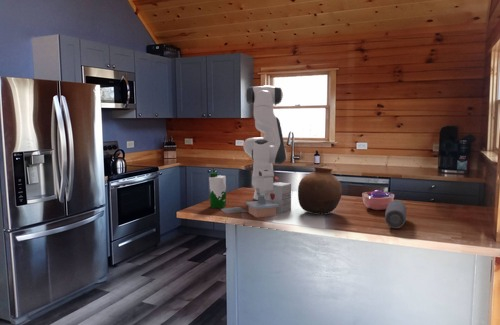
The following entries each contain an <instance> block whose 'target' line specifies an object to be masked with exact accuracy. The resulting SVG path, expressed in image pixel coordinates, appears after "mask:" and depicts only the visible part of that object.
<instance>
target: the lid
mask: <svg viewBox="0 0 500 325" xmlns="http://www.w3.org/2000/svg"><path fill="white" fill-rule="evenodd" d="M263 196H264V195H259V196H258V200H253V201H252V200H251V201H246V202H245V203H246V204H245V205H247V206H248V207H249V206H250V207H252V208H254V209H263V208H273V207H279V205H278V204H276V203H274V202H272V201H270V200H266V199H264V197H263Z"/></svg>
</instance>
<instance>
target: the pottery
mask: <svg viewBox="0 0 500 325" xmlns="http://www.w3.org/2000/svg"><path fill="white" fill-rule="evenodd" d="M313 168H314V171H312V172H310V173H308V174H307V175H305V176H303V177H302V178H301V180H300V182H299V184H298V188H297V197H298V198H297V200H298V204H299V206H300V207H301V209H302V210H303V211H305V212H307V213H309V214H315V215H327V214H329V213H331V212H333V211H334V210H335V209H336V208H337V207H338V205H339V203H340V200H341V198H342V194H343V187H342V184H341V182H340V180H339V179H338V178H337V177H336V176H335V175H334V174H332V172H333V170H334V169H332V168H327V167H326V168H325V167H317V166H314V167H313Z"/></svg>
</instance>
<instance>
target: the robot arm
mask: <svg viewBox="0 0 500 325" xmlns="http://www.w3.org/2000/svg"><path fill="white" fill-rule="evenodd" d="M283 93H284V92H283V90H282V88H281V87H280V86H278V85H274V86H273V85H263V86H262V85H259V86H258V85H257V86H249V87H247V88H246V90H245V94H244V99H245V101H246V103H248V104H249V105H252V106H253V119H254V128H255V129H256V130H257V131H259V132H260V133H263V134H264V136H260V137H257V136H256V137H249V138H246V139H245V140H244V142H243V151H244V152H245V154H246V155H248V156H249V157H250V158H251V160H252V161H253V163H252V164H253V165H252V166H253V167H252V171H253V172H252V175H251V186H252V187H254V194H253V198H252V199H254V200H255V201H258V196H259V195H264V196H263V197H264V199H266V200H269V192H271V191H272V190H273V183H277V182H276V181H279V177H278V176H275V174H274V165H273V164H275V165H276V164H278V165H282V164H283V163H284V162H285V161H286V160H287V156H288V155H287V154H288V152H287V149H286V147H285V142H284V136H283V132H282V126H281V122H280V119H279V117H277V116H275V113H274V106H277V105H278V104H280V103H281V102H282V100H283V96H284V94H283Z"/></svg>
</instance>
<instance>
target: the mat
mask: <svg viewBox="0 0 500 325" xmlns="http://www.w3.org/2000/svg"><path fill="white" fill-rule="evenodd" d="M219 209H220V210H221V211H222V212H223V213H225V214H236V213H237V214H238V213H245V212H246V213H247V211H248V210H246V209H244V208H243V207H242V206H234V207H223V208H219Z"/></svg>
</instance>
